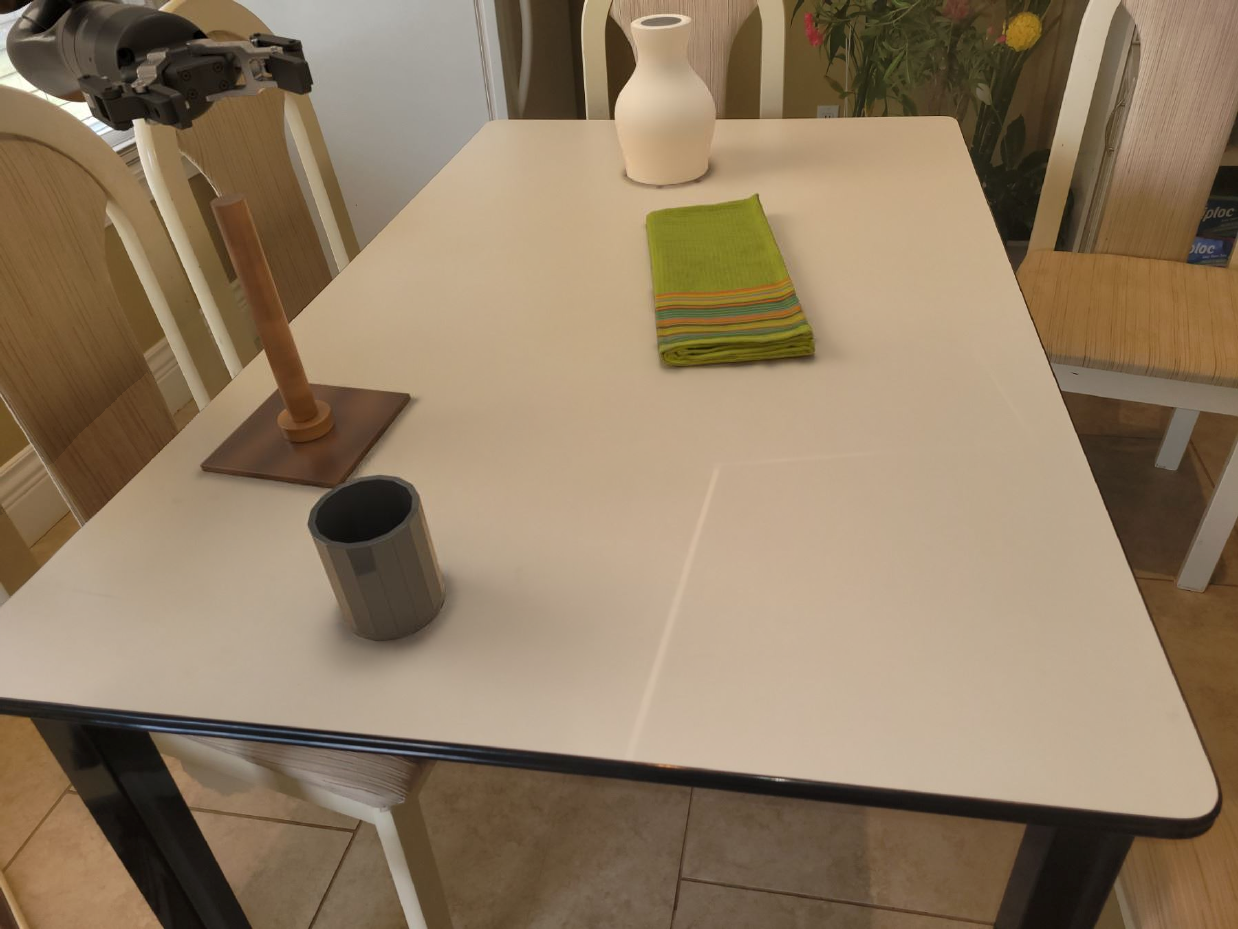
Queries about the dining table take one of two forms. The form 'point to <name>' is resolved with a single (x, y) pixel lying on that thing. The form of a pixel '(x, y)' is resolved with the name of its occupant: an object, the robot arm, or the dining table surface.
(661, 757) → the dining table surface
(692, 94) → the vase
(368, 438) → the board
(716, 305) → the dish towel
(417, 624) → the holder
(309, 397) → the cylinder
